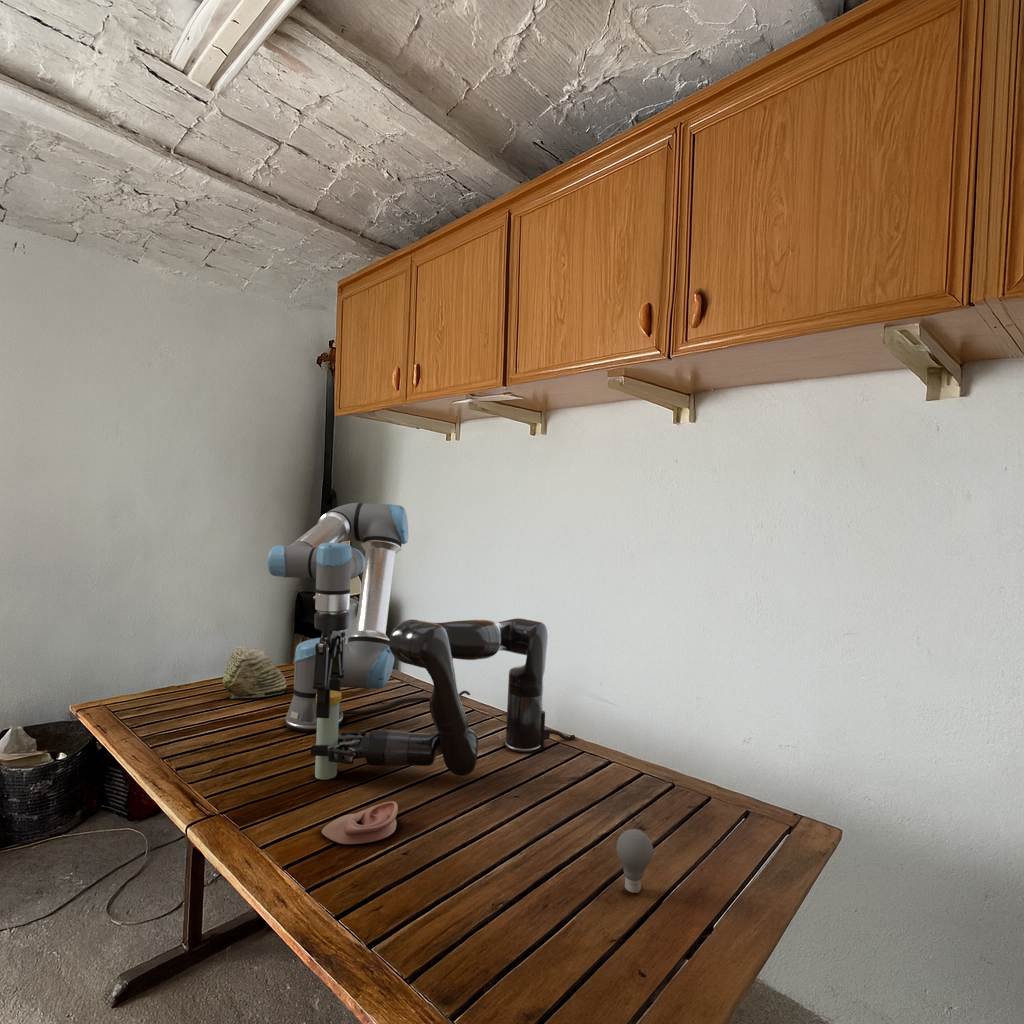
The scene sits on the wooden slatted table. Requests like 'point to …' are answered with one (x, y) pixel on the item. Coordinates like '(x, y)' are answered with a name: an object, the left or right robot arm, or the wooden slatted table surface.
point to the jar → (327, 743)
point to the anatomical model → (364, 825)
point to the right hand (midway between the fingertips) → (315, 745)
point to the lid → (334, 697)
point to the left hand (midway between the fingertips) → (328, 712)
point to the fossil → (252, 674)
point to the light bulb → (634, 857)
